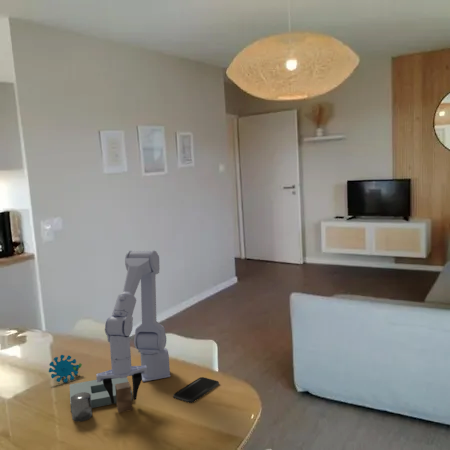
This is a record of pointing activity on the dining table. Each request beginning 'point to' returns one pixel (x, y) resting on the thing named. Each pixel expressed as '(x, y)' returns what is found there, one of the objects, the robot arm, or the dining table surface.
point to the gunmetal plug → (81, 406)
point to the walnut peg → (123, 397)
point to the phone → (196, 389)
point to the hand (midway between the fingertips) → (123, 400)
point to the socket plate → (96, 391)
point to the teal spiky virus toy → (64, 368)
